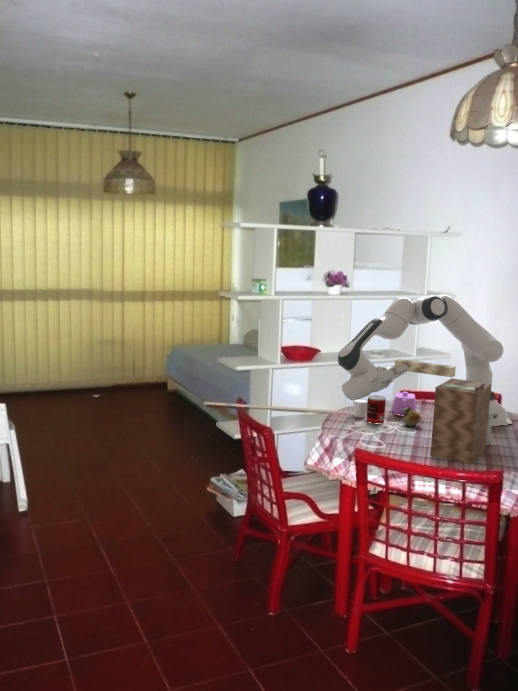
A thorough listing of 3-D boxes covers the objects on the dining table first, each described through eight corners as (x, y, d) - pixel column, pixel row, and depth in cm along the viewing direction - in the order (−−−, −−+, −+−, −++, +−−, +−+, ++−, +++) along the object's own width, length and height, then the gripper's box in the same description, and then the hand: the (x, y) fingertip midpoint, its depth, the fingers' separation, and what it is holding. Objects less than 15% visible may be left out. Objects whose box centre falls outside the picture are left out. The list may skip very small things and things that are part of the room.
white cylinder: (363, 418, 298) (364, 403, 297) (349, 416, 302) (350, 400, 300) (370, 415, 304) (370, 400, 303) (356, 413, 307) (356, 398, 306)
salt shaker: (473, 442, 268) (476, 410, 266) (487, 442, 269) (490, 410, 267) (479, 446, 263) (482, 414, 261) (494, 446, 263) (496, 414, 261)
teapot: (392, 407, 319) (394, 386, 318) (415, 409, 317) (417, 388, 315) (391, 417, 302) (392, 395, 300) (415, 419, 300) (417, 397, 298)
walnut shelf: (430, 455, 250) (436, 381, 245) (446, 442, 266) (452, 373, 262) (471, 464, 242) (477, 387, 237) (485, 450, 258) (491, 378, 254)
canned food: (383, 419, 297) (384, 395, 295) (384, 424, 289) (386, 399, 287) (365, 418, 298) (367, 394, 296) (366, 423, 290) (368, 398, 288)
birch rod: (394, 369, 257) (395, 360, 256) (397, 368, 259) (398, 359, 259) (452, 377, 245) (452, 367, 244) (454, 375, 248) (455, 366, 247)
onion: (404, 428, 285) (406, 409, 284) (399, 422, 293) (401, 405, 292) (422, 428, 286) (423, 410, 284) (416, 423, 294) (418, 405, 292)
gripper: (365, 375, 254) (396, 361, 247) (385, 367, 271) (415, 353, 264) (372, 390, 253) (403, 376, 246) (392, 381, 270) (422, 368, 263)
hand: (410, 364), depth 255 cm, fingers closed on birch rod, 3 cm apart
